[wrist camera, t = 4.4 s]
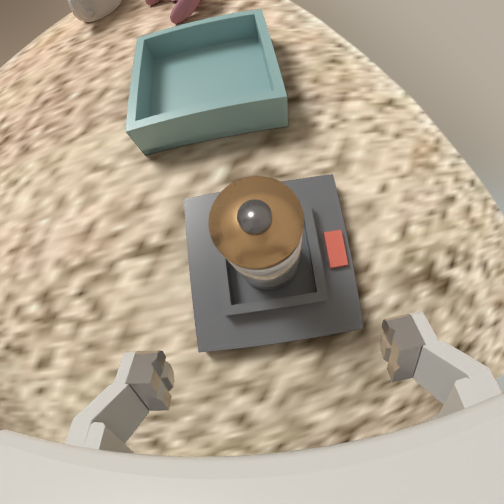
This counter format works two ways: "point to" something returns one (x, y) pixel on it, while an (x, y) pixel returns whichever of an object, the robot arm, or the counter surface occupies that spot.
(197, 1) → the video game controller
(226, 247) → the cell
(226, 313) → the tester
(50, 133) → the counter surface
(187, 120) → the bin
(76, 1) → the cup
